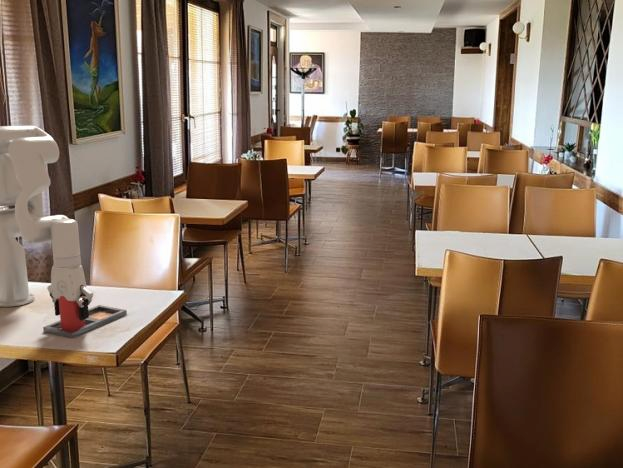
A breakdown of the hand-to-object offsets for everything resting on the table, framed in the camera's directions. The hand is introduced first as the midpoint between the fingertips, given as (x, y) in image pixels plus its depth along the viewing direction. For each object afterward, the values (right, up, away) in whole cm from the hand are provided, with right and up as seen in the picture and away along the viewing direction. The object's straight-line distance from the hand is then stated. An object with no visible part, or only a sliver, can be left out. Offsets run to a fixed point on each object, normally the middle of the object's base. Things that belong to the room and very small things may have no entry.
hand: (72, 316), depth 189 cm
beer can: (0, -4, +1) cm, 4 cm away
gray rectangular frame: (+2, -3, +6) cm, 7 cm away
